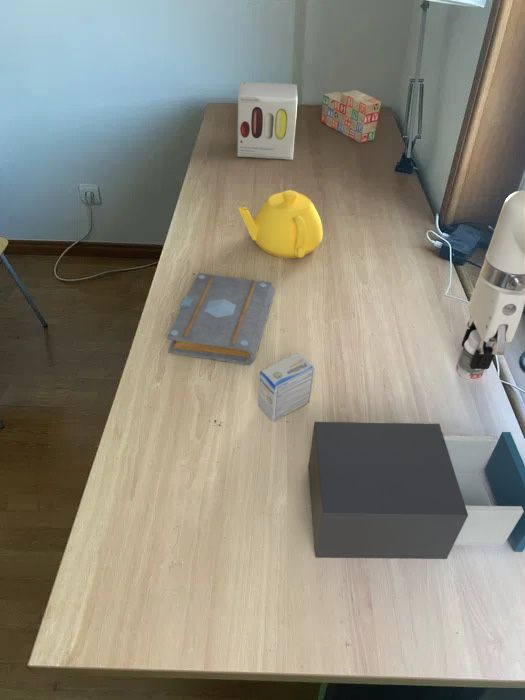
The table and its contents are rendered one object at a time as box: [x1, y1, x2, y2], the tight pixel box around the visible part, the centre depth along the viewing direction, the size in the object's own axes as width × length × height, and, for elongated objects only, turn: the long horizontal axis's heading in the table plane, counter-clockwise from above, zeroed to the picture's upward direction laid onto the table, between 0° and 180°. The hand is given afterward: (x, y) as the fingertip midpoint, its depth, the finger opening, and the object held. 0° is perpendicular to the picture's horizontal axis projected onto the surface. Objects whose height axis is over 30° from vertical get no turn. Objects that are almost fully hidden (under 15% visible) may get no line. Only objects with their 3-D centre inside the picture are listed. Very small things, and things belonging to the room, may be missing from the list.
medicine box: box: [258, 352, 315, 423], centre depth 92 cm, size 8×4×9 cm, turn 126°
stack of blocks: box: [320, 89, 382, 144], centre depth 185 cm, size 21×6×12 cm, turn 33°
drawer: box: [443, 431, 525, 553], centre depth 77 cm, size 22×13×9 cm, turn 90°
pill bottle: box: [455, 330, 493, 381], centre depth 100 cm, size 5×5×8 cm
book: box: [166, 272, 276, 366], centre depth 109 cm, size 21×16×5 cm
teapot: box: [238, 189, 323, 259], centre depth 129 cm, size 20×19×13 cm
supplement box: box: [236, 81, 299, 161], centre depth 169 cm, size 17×13×18 cm
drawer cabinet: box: [307, 421, 468, 560], centre depth 77 cm, size 18×15×11 cm
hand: (474, 356), depth 100 cm, fingers closed on pill bottle, 4 cm apart
